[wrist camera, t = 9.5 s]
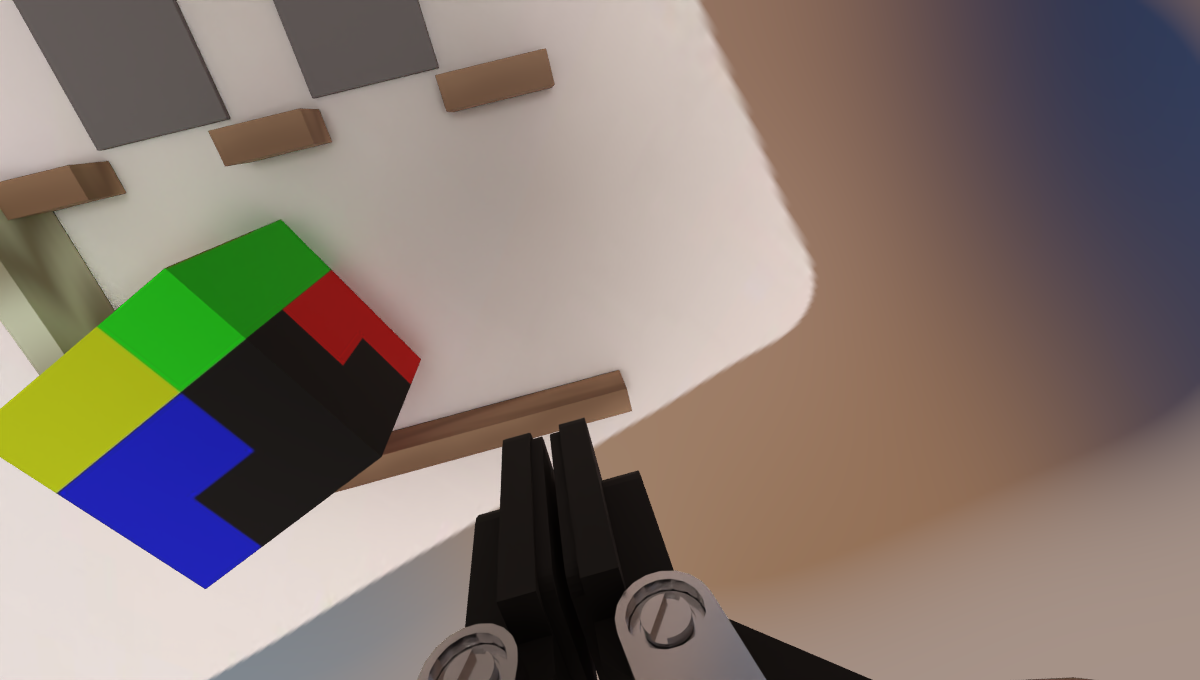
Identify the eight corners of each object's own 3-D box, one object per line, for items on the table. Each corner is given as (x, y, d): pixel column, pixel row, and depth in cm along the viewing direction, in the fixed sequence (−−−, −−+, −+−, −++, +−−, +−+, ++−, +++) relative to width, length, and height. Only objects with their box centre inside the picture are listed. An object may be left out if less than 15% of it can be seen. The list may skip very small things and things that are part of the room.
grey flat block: (-12, -52, 22) (-18, -54, 22) (136, -86, 23) (131, -88, 22) (101, 150, 26) (97, 150, 25) (230, 118, 26) (227, 118, 26)
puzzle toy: (293, 457, 33) (205, 589, 24) (141, 336, 29) (-32, 436, 20) (421, 358, 32) (381, 457, 22) (281, 219, 28) (164, 268, 19)
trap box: (0, 187, 26) (-87, 199, 22) (543, 54, 27) (547, 43, 23) (205, 505, 33) (166, 553, 29) (624, 391, 34) (637, 424, 30)
